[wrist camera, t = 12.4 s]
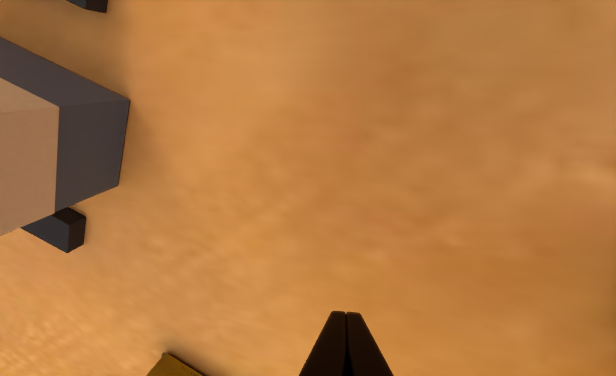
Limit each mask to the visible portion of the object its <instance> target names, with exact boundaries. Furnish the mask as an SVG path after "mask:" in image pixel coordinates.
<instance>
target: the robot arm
mask: <svg viewBox="0 0 616 376" xmlns="http://www.w3.org/2000/svg"><path fill="white" fill-rule="evenodd" d="M299 376H393V374H392V372H391V370H390V368H389V366H388V364H387V362H386V361H385V359H384V357H383V355H382V353H381V351H380V349H379V347H378V346H377V344H376V342H375V340H374V338H373V336H372V334H371V333H370V331H369V329H368V327H367V325H366V323H365V321H364V319H363V318H362V316H361V314H360V313H356V312H347V313H345V312H343V311H332V312H331V314H330V316H329V318H328V319H327V321H326V323H325V325H324V327H323V329H322V331H321V333H320V335H319V337H318V339H317V341H316V343H315V345H314V347H313V349H312V351H311V353H310V355H309V357H308V359H307V360H306V362H305V364H304V366H303V368H302V370H301V372H300V374H299Z"/></svg>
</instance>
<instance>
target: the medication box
mask: <svg viewBox="0 0 616 376" xmlns="http://www.w3.org/2000/svg"><path fill="white" fill-rule="evenodd" d="M146 376H203V375H201V374H200V373H198V372H196V371H195V370H193V369H192V368H190V367H188V366H187V365H185V364H183V363H182V362H180V361H178V360H177V359H175V358H174V357H172V356H170V355H169V354H167V353H163V354H162V357H161V359H160V360H159V361H158V362H157V363H156V365H155V366H154V367H153V368H152V369H151V370H150V372H149V373H148V374H147V375H146Z"/></svg>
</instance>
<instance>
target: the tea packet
mask: <svg viewBox="0 0 616 376" xmlns="http://www.w3.org/2000/svg"><path fill="white" fill-rule="evenodd" d="M129 103H130V100H129V99H127V98H125V97H123V96H121V95H119V94H117V93H115V92H113V91H110V90H108V89H106V88H104V87H102V86H100V85H98V84H96V83H94V82H92V81H90V80H88V79H86V78H83V77H81V76H79V75H77V74H75V73H73V72H71V71H69V70H67V69H65V68H63V67H61V66H59V65H57V64H54V63H52V62H50V61H48V60H46V59H44V58H42V57H40V56H38V55H36V54H34V53H32V52H30V51H28V50H25V49H23V48H21V47H19V46H17V45H15V44H13V43H11V42H9V41H7V40H5V39H3V38H1V37H0V236H1V235H4V234H6V233H8V232H11V231H13V230H16V229H18V228H20V227H23V226H25V225H28V224H30V223H32V222H35V221H37V220H40V219H42V218H44V217H47V216H49V215H52V214H54V213H55V212H56V211H58V210H61V209H63V208H66V207H68V206H71V205H73V204H75V203H78V202H80V201H83V200H85V199H87V198H90V197H92V196H95V195H97V194H100V193H102V192H104V191H107V190H109V189H112V188H114V187H116V186H118V180H119V173H120V166H121V159H122V152H123V145H124V138H125V131H126V124H127V117H128V110H129Z"/></svg>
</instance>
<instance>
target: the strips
mask: <svg viewBox="0 0 616 376" xmlns="http://www.w3.org/2000/svg"><path fill="white" fill-rule="evenodd" d="M67 1H69V2H71V3H73V4H75V5H77V6H80V7H82V8H84V9H87V10H92V11H97V12H102V13H106V9H107V0H67ZM85 220H86V217H84V216H82V215H80V214H78V213H77V212H75V211H73V210H71V209H69V208H67V207H66V208H63V209H61V210H58V211H56V212H55V213H54V214H52V215H49V216H47V217H44V218H42V219H40V220H37V221H35V222H32V223H30V224H28V225H25V226H23V227H20V228H22V229H23V230H25V231H27V232H29V233H31V234H33V235H34V236H36V237H38V238H40V239H42V240H44V241H46V242H47V243H49V244H51V245H53V246H55V247H57V248H58V249H60V250H62V251H64V252H66V253H69V252H70V251H72V250H74V249H76V248H78V247H79V246H81V245H83V240H84V230H85Z"/></svg>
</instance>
